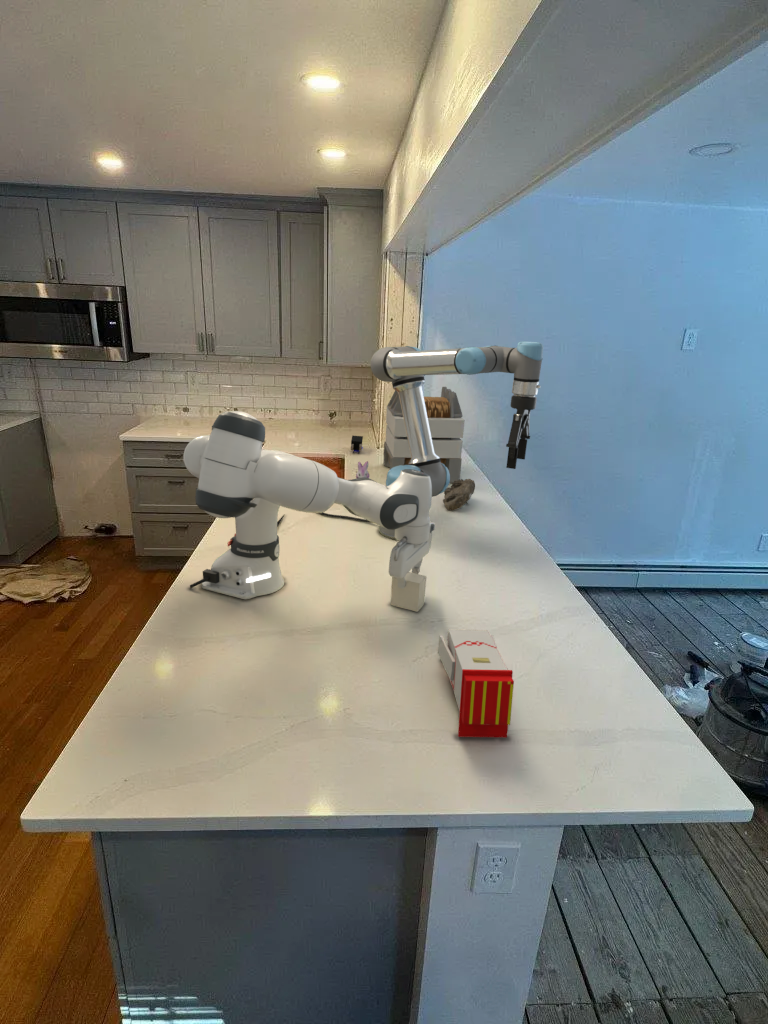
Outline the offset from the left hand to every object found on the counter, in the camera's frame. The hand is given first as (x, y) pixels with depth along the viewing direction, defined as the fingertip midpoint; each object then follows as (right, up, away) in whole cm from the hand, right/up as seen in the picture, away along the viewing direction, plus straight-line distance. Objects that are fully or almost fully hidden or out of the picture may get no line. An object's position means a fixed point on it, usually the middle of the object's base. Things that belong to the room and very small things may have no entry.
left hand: (409, 579), depth 150 cm
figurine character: (-22, +51, +161) cm, 170 cm away
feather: (-44, +16, +60) cm, 76 cm away
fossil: (+24, +21, +84) cm, 90 cm away
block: (0, -7, +3) cm, 8 cm away
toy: (+11, -20, -31) cm, 38 cm away
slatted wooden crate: (+11, +37, +125) cm, 131 cm away
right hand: (+35, +33, +29) cm, 56 cm away
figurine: (-15, +24, +87) cm, 92 cm away
